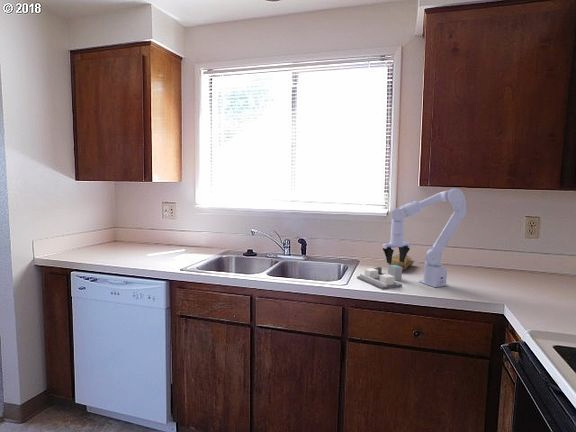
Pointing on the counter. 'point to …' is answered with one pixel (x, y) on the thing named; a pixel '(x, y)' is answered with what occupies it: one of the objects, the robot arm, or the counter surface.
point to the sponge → (405, 264)
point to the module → (395, 272)
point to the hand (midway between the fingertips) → (395, 262)
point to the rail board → (379, 279)
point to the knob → (378, 269)
